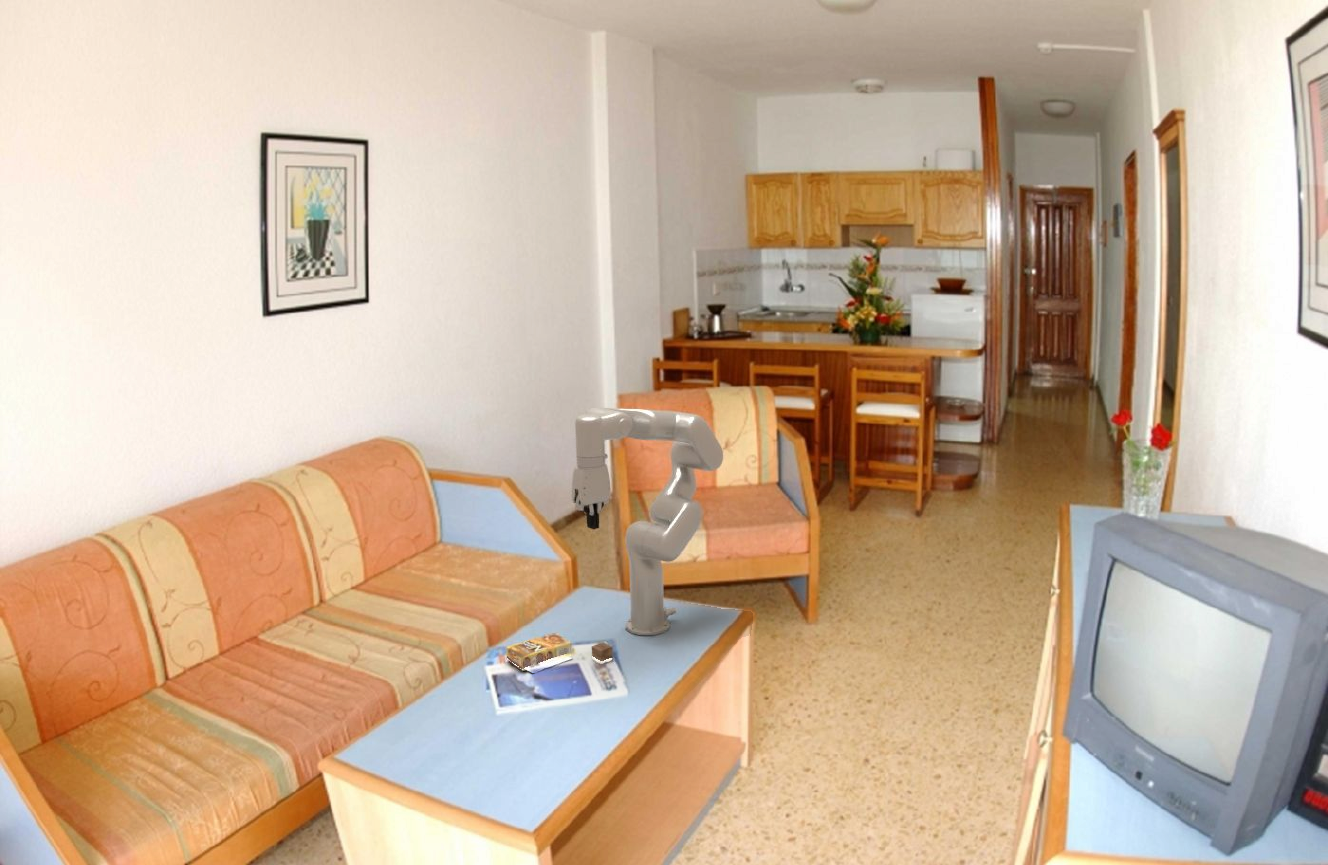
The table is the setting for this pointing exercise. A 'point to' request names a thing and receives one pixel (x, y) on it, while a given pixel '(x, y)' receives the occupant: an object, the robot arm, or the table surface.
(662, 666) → the table surface
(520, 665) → the candy box
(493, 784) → the table surface
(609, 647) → the tan wooden block
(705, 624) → the table surface
